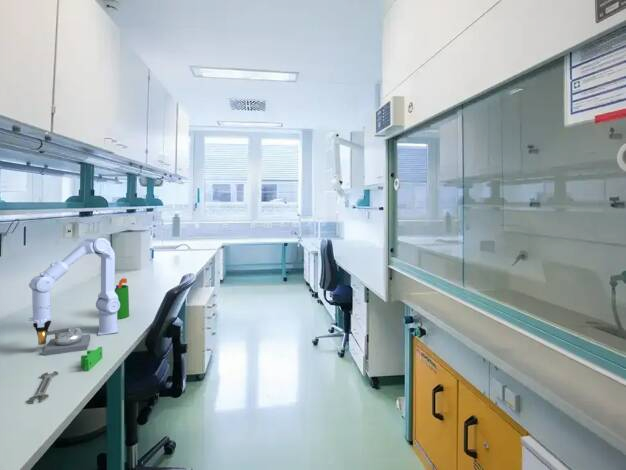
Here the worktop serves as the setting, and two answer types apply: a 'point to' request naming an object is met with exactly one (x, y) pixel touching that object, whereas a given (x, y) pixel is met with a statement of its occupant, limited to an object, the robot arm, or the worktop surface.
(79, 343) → the base plate
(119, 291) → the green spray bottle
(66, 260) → the robot arm
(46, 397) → the wrench
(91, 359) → the pipe clamp
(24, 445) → the worktop surface
